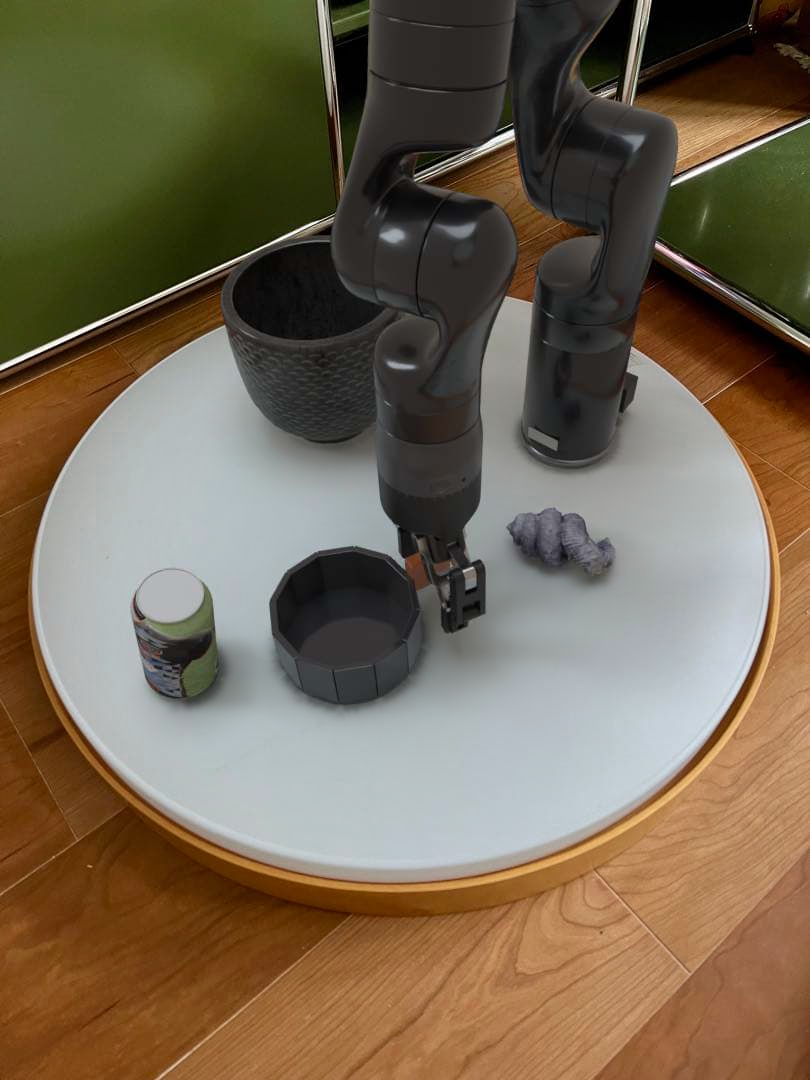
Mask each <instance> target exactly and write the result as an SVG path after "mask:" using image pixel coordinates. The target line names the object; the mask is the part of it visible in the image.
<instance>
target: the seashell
mask: <svg viewBox="0 0 810 1080" xmlns="http://www.w3.org/2000/svg"><path fill="white" fill-rule="evenodd" d="M562 513H563V512H562V511H559V510H558V509H556V507H555V506H554V507H548V508H544V509H543V510H541V512H539V513H534V512H527V513H525V512H520V513H518V514H517V515H515V517H514V520H512V521H511V522H509V523H508V524H507V525H506V526H505V528H506V529H507V531H508V533H509V535H510V536H511V537H512V540H513V543H514V544H515V546H518V547H519V548H520V549H521V552H522V553H523V554H524V555H526V556H527V557H529V558H530V559H531V558H532V559H534V558H536V559H539V560H540V562H541V563H542V564H543V565H544V566H546V567H549V568H551V569H555V568H562V567H563V566H564V565H566V564H567V563H568V562H569V561H570V559H571V560H573V562H574V563H576V564H577V566H579V568H581V570H582V571H584V573H587V574H588V575H589V576H591V577H595V576H598V575H599V574H603V573H605V572H606V571H607V570H608V569H609V568H610V567H612V565H613V562H614V561H615V559H616V547H615V546H614V545H613V544H612V542H611V539H610V538H609V537H604V538H603V539H601V541H599V542H597V543H596V541H594V540H593V538H591V536H590V534H589V532H588V530H587V525H586V524H587V523H586V522H585V519H584V517H583V516H581V515H580V514H579V513H577V512H569V513H565V514H562Z"/></svg>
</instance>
